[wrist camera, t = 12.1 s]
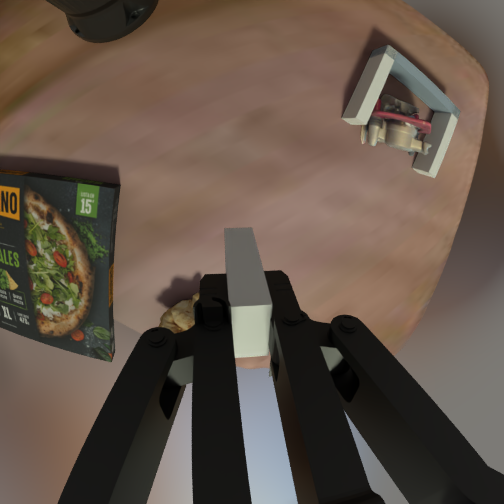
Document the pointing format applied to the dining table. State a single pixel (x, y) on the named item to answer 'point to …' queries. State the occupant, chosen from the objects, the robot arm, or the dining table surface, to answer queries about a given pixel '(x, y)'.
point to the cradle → (421, 86)
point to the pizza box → (58, 260)
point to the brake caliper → (396, 126)
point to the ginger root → (180, 316)
